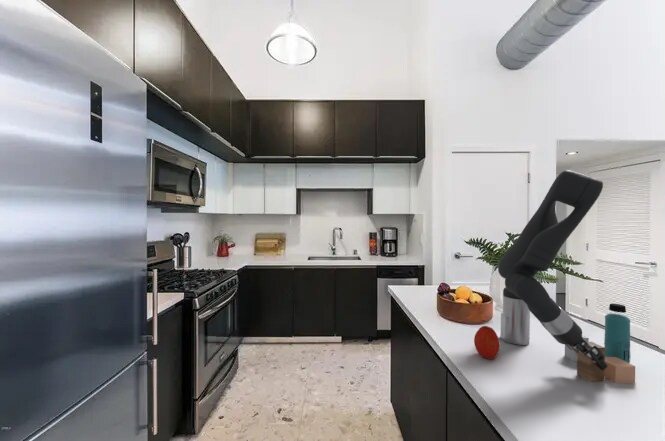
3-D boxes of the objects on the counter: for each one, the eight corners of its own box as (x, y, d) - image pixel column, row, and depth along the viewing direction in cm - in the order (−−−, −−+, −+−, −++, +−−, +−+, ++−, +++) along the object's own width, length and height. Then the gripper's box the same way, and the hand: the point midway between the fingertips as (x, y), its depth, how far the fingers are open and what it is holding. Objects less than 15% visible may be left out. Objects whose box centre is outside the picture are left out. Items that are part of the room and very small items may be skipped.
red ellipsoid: (469, 350, 112) (470, 321, 112) (492, 351, 111) (493, 321, 111) (479, 361, 103) (480, 329, 103) (504, 362, 103) (505, 329, 103)
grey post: (575, 361, 104) (575, 337, 104) (564, 355, 109) (565, 332, 109) (588, 361, 105) (588, 337, 105) (576, 355, 109) (577, 332, 109)
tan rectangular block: (589, 381, 91) (590, 347, 91) (576, 373, 96) (577, 341, 96) (604, 381, 92) (605, 347, 92) (590, 373, 96) (591, 341, 96)
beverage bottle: (625, 371, 98) (626, 308, 98) (599, 362, 104) (600, 303, 104) (634, 367, 101) (635, 305, 101) (608, 358, 107) (609, 300, 107)
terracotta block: (615, 383, 91) (615, 366, 91) (597, 373, 97) (597, 357, 97) (634, 383, 91) (635, 366, 91) (615, 372, 97) (615, 357, 97)
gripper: (588, 323, 86) (629, 366, 87) (550, 308, 100) (585, 345, 101) (569, 342, 86) (610, 385, 87) (533, 324, 100) (569, 361, 101)
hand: (596, 363), depth 94 cm, fingers closed on tan rectangular block, 4 cm apart
